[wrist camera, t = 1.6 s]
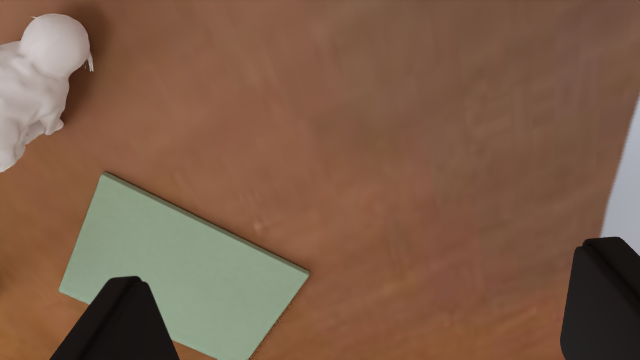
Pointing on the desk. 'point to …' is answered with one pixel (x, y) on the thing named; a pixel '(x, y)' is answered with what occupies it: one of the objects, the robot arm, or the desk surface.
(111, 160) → the desk surface
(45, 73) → the white figurine
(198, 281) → the desk mat
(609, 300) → the robot arm
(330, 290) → the desk surface
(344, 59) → the desk surface
